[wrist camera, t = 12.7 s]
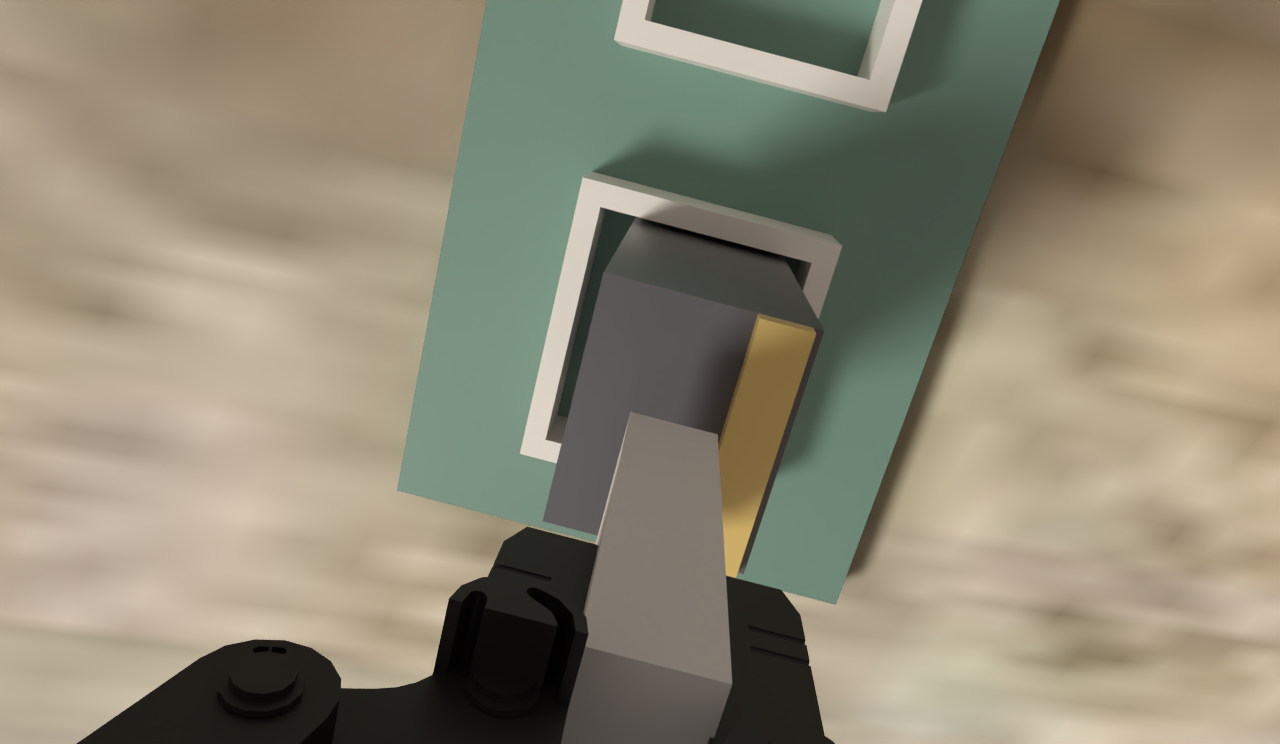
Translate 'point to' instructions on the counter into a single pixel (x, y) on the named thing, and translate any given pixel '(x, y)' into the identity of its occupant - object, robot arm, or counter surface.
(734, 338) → the plug
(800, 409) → the board
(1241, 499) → the counter surface
